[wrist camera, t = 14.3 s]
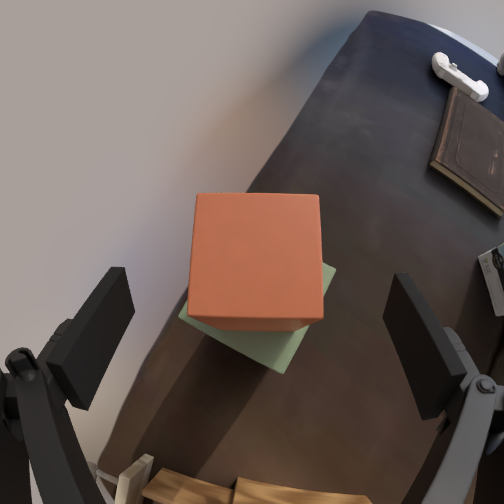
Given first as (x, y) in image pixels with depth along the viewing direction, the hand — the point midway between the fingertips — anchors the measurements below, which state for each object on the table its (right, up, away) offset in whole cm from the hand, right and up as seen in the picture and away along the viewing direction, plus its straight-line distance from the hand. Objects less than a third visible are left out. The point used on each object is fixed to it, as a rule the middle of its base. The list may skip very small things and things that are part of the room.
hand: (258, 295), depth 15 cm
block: (0, -1, +6) cm, 6 cm away
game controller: (+43, +38, +34) cm, 67 cm away
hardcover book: (+40, +21, +29) cm, 53 cm away
